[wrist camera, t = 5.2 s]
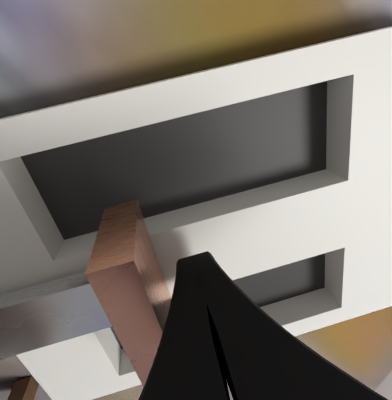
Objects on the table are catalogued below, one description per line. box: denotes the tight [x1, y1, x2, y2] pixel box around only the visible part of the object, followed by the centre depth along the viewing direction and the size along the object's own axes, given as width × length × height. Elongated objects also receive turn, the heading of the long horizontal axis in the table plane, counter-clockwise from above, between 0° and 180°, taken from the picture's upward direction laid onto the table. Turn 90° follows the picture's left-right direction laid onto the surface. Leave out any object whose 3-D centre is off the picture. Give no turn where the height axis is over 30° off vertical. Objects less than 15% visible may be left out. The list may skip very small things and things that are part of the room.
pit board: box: [0, 26, 392, 400], centre depth 11 cm, size 12×16×2 cm
